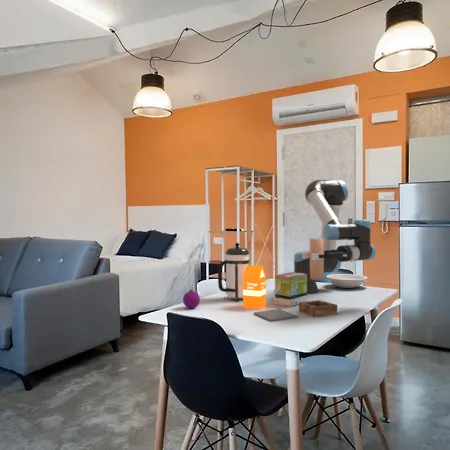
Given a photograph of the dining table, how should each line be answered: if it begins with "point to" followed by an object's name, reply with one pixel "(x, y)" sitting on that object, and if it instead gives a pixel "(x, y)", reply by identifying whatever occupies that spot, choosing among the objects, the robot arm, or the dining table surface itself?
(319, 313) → the pocket
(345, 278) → the soup bowl
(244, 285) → the orange juice
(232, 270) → the coffee press
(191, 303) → the christmas ornament
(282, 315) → the mat
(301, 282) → the tea box
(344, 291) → the dining table surface
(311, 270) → the tall peach cylinder
